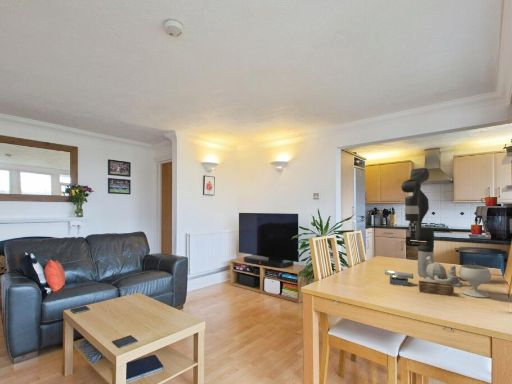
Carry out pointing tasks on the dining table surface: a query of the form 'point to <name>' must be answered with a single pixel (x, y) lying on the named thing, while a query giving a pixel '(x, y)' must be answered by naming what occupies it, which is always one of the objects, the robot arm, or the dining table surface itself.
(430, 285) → the grooved beam
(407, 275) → the axle
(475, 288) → the chalice
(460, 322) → the dining table surface
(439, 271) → the grey faceted sculpture
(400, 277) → the V-block
